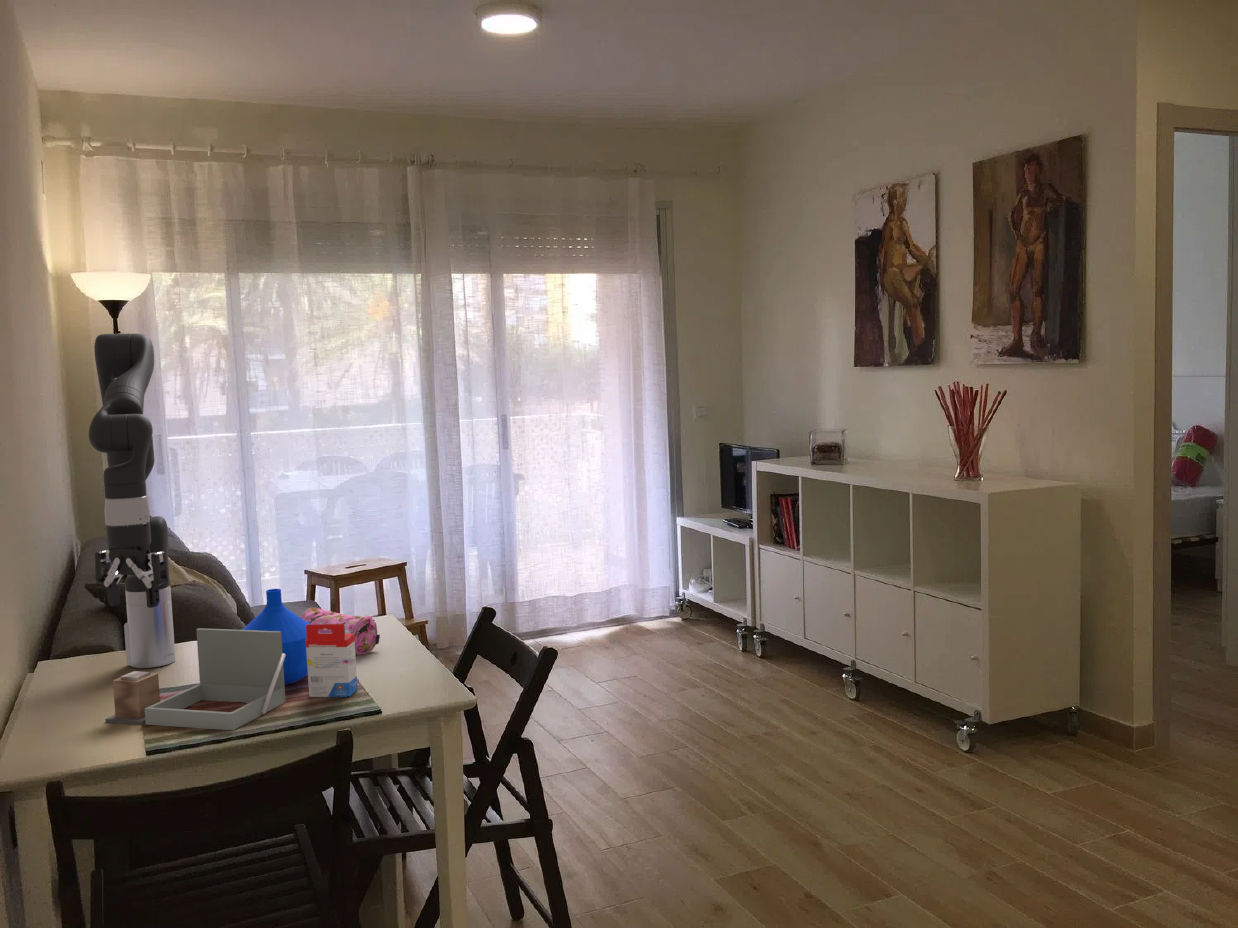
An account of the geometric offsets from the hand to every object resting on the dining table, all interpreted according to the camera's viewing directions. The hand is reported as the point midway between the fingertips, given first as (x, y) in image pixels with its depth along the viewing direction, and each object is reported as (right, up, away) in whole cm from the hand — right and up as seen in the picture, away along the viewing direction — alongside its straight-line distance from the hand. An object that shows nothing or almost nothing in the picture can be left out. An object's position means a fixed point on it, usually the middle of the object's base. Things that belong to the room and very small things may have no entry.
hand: (133, 606), depth 193 cm
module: (+1, -20, +1) cm, 20 cm away
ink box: (+35, -19, +11) cm, 41 cm away
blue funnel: (+20, -19, +22) cm, 35 cm away
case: (+15, -21, +1) cm, 26 cm away
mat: (+1, -21, +1) cm, 21 cm away
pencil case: (+26, -17, +47) cm, 56 cm away
